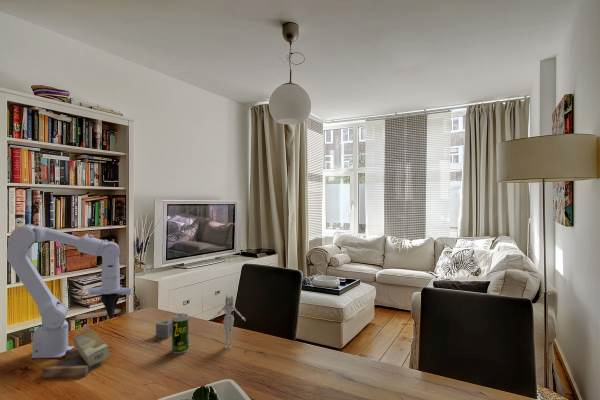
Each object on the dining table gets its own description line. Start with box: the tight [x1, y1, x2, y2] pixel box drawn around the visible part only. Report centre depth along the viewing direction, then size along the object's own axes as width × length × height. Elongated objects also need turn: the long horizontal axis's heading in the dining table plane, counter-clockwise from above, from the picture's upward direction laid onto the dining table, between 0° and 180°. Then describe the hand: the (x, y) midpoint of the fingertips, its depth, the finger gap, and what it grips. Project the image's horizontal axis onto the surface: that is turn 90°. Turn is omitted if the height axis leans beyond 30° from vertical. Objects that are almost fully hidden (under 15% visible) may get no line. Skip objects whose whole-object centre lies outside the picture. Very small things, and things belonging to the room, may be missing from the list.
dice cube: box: [155, 319, 172, 339], centre depth 138 cm, size 5×5×5 cm
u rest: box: [42, 349, 102, 378], centre depth 113 cm, size 12×13×2 cm
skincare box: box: [72, 327, 111, 367], centre depth 117 cm, size 6×4×12 cm
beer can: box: [171, 313, 190, 355], centre depth 125 cm, size 5×5×12 cm
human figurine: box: [212, 294, 246, 349], centre depth 129 cm, size 12×4×18 cm, turn 83°
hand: (110, 314), depth 130 cm, fingers closed
